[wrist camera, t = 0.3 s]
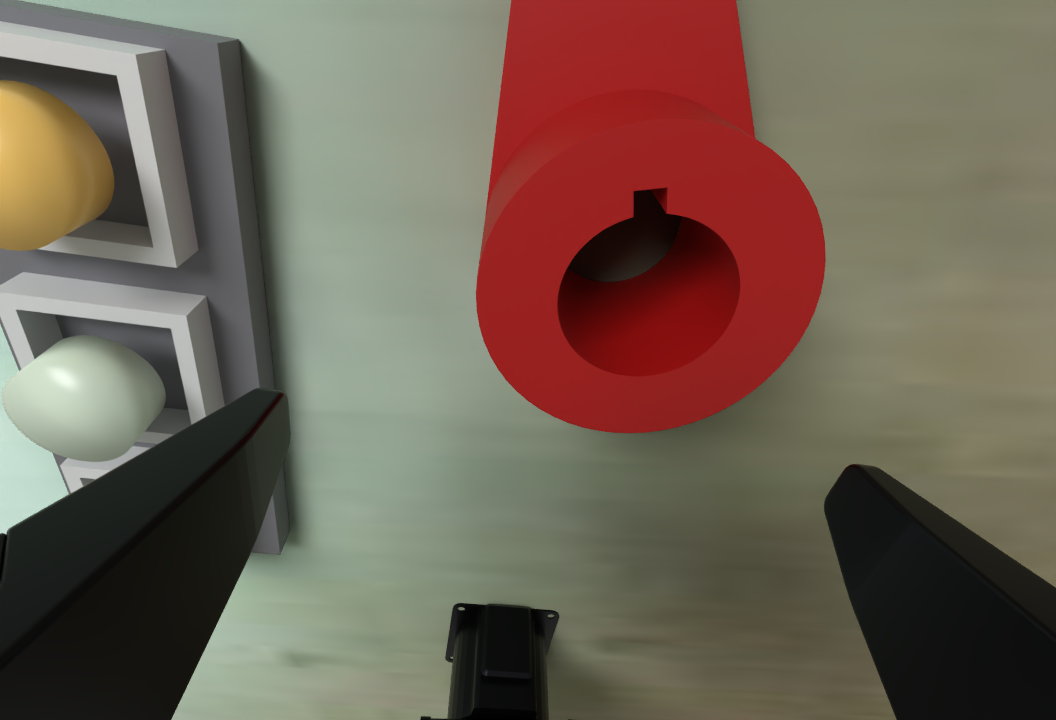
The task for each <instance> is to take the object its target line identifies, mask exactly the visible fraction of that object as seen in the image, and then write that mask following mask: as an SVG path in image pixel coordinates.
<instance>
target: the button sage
mask: <svg viewBox="0 0 1056 720" xmlns="http://www.w3.org/2000/svg"><path fill="white" fill-rule="evenodd" d="M2 401H3V406H4V409H5V411H6V413H7V415H8V417H9V418H10V420H11V421H12V423H13V424H14V425H15V426H16V427H17V429H18V430H19V431H21V432H22V433H23V434H24V435H25V436H26V437H27V438H29V439H30V440H31V441H33V442H34V443H36V444H37V445H39V446H41V447H43V448H44V449H46V450H48V451H50V452H53V453H55V454H58V455H60V456H63V457H66V458H70V459H74V460H79V461H86V462H103V461H109V460H113V459H116V458H118V457H120V456H122V455H124V454H125V453H126V452H127V451H128V450H129V449H130V448H131V447H132V446H133V445H134V443H135V442H136V441H137V440H138V439H139V438H140V436H141V435H142V434H143V433H144V432H145V430H146V429H147V428H148V427H149V426H150V424H151V423H152V422H153V421H154V420H155V418H156V417H157V416H158V415H159V414H160V412H161V411H162V410H163V407H164V405H165V401H166V393H165V388H164V385H163V382H162V380H161V378H160V377H159V375H158V373H157V372H156V371H155V369H154V368H153V367H152V366H151V365H150V364H149V363H148V362H147V361H146V360H145V359H144V358H142V357H141V356H140V355H139V354H137V353H136V352H134V351H133V350H131V349H129V348H128V347H126V346H124V345H122V344H119V343H117V342H114V341H112V340H109V339H105V338H101V337H96V336H86V335H81V336H72V337H68V338H64V339H62V340H60V341H58V342H57V343H55V344H54V345H53V346H51V347H50V348H49V349H48V350H46V351H45V352H44V353H42V354H41V355H40V356H38V357H37V358H36V359H35V360H33V361H32V362H31V363H29V364H28V365H27V366H25V367H24V368H23V369H22V370H20V371H19V372H18V373H16V374H15V375H14V376H12V377H11V378H10V379H9V380H8V381H7V382H6V384H5V386H4V388H3V392H2Z"/></svg>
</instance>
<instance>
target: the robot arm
mask: <svg viewBox="0 0 1056 720" xmlns="http://www.w3.org/2000/svg"><path fill="white" fill-rule="evenodd" d="M289 442H290V421H289V407H288V398H287V395H286V393H284V392H283V391H280V390H272V389H265V388H256V389H254V390H251V391H250V392H248V393H246V394H244V395H243V396H241V397H239V398H237V399H236V400H234V401H232V402H230V403H229V404H227V405H225V406H223V407H222V408H220V409H218V410H216V411H215V412H213V413H211V414H209V415H208V416H206V417H204V418H202V419H200V420H199V421H197V422H195V423H193V424H192V425H190V426H188V427H186V428H185V429H183V430H181V431H179V432H178V433H176V434H174V435H172V436H171V437H169V438H167V439H165V440H164V441H162V442H160V443H158V444H157V445H155V446H153V447H151V448H150V449H148V450H146V451H144V452H143V453H141V454H139V455H137V456H135V457H134V458H132V459H130V460H128V461H127V462H125V463H123V464H121V465H120V466H118V467H116V468H114V469H113V470H111V471H109V472H107V473H106V474H104V475H102V476H100V477H99V478H97V479H95V480H93V481H92V482H90V483H88V484H86V485H85V486H83V487H81V488H79V489H78V490H76V491H74V492H72V493H70V494H69V495H67V496H65V497H63V498H62V499H60V500H58V501H56V502H55V503H53V504H51V505H49V506H48V507H46V508H44V509H42V510H41V511H39V512H37V513H35V514H34V515H32V516H30V517H28V518H27V519H25V520H23V521H21V522H20V523H18V524H16V525H14V526H13V527H11V528H9V529H8V531H7V535H6V534H4V533H1V534H0V720H171V719H172V717H173V715H174V713H175V710H176V708H177V706H178V704H179V702H180V700H181V698H182V696H183V694H184V692H185V690H186V688H187V685H188V683H189V681H190V679H191V677H192V675H193V673H194V671H195V669H196V667H197V665H198V662H199V660H200V658H201V656H202V654H203V652H204V650H205V648H206V646H207V644H208V642H209V639H210V637H211V635H212V633H213V631H214V629H215V627H216V625H217V623H218V621H219V619H220V616H221V614H222V612H223V610H224V608H225V606H226V604H227V602H228V600H229V598H230V596H231V593H232V591H233V589H234V587H235V585H236V583H237V581H238V579H239V577H240V575H241V573H242V571H243V568H244V566H245V564H246V562H247V560H248V558H249V556H250V554H251V551H252V549H253V547H254V545H255V542H256V540H257V538H258V535H259V532H260V529H261V527H262V524H263V521H264V518H265V515H266V512H267V509H268V506H269V503H270V500H271V497H272V494H273V492H274V489H275V486H276V483H277V480H278V477H279V474H280V471H281V468H282V465H283V462H284V459H285V456H286V453H287V450H288V447H289ZM824 511H825V515H826V519H827V522H828V526H829V530H830V533H831V537H832V540H833V544H834V547H835V551H836V554H837V558H838V561H839V565H840V568H841V572H842V575H843V579H844V582H845V586H846V589H847V592H848V595H849V598H850V601H851V604H852V607H853V609H854V612H855V615H856V617H857V620H858V622H859V625H860V628H861V630H862V633H863V635H864V638H865V640H866V643H867V645H868V648H869V650H870V653H871V656H872V658H873V661H874V663H875V666H876V668H877V671H878V673H879V676H880V679H881V681H882V684H883V686H884V689H885V691H886V694H887V696H888V699H889V701H890V704H891V707H892V709H893V712H894V714H895V717H896V719H897V720H1056V588H1055V587H1054V586H1052V585H1051V584H1049V583H1048V582H1047V581H1045V580H1044V579H1042V578H1041V577H1039V576H1038V575H1036V574H1035V573H1033V572H1032V571H1030V570H1029V569H1027V568H1026V567H1024V566H1023V565H1021V564H1020V563H1018V562H1017V561H1016V560H1014V559H1013V558H1011V557H1010V556H1008V555H1007V554H1005V553H1004V552H1002V551H1001V550H999V549H998V548H996V547H995V546H993V545H992V544H990V543H989V542H987V541H986V540H984V539H983V538H982V537H980V536H979V535H977V534H976V533H974V532H973V531H971V530H970V529H968V528H967V527H965V526H964V525H962V524H961V523H959V522H958V521H956V520H955V519H953V518H952V517H950V516H949V515H948V514H946V513H945V512H943V511H942V510H940V509H939V508H937V507H936V506H934V505H933V504H931V503H930V502H928V501H927V500H925V499H924V498H922V497H921V496H919V495H918V494H916V493H915V492H914V491H912V490H911V489H909V488H908V487H906V486H905V485H903V484H902V483H900V482H899V481H897V480H896V479H894V478H893V477H891V476H890V475H888V474H887V473H885V472H884V471H882V470H881V469H879V468H877V467H874V466H868V465H860V464H851V465H849V466H848V467H846V468H845V469H844V471H843V472H842V474H841V475H840V477H839V478H838V480H837V481H836V483H835V484H834V486H833V487H832V489H831V490H830V492H829V493H828V495H827V496H826V499H825V502H824ZM459 607H464V608H465V610H462V611H460V610H458V609H457V608H459ZM549 614H553V615H555V616H554V617H552V618H549V617H547V615H549ZM558 618H559V614H558V612H556V611H552V610H540V609H529V608H527V607H519V606H506V605H494V604H488V605H478V604H466V603H458V604H455V605H454V606H453V611H452V617H451V624H450V631H449V637H448V644H447V651H446V657H445V658H446V660H447V661H448V662H452V663H453V665H452V676H451V686H450V697H449V707H448V718H447V719H432V718H431V717H428V716H421V720H549V713H548V690H547V667H546V655H547V652H548V649H549V646H550V642H551V639H552V636H553V633H554V630H555V627H556V624H557V621H558ZM450 657H453V659H450ZM568 720H570V719H568Z"/></svg>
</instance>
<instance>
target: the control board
mask: <svg viewBox="0 0 1056 720" xmlns="http://www.w3.org/2000/svg"><path fill="white" fill-rule="evenodd" d="M0 80H10V81H17V82H22V83H26V84H29V85H32V86H35V87H37V88H39V89H42V90H44V91H46V92H48V93H50V94H51V95H53V96H55V97H57V98H58V99H60V100H61V101H63V102H64V103H65V104H67V105H68V106H69V107H71V108H72V109H73V110H74V111H75V112H77V113H78V114H79V115H80V116H81V117H82V118H83V119H84V120H85V121H86V122H87V124H88V125H89V126H90V127H91V128H92V130H93V131H94V132H95V134H96V135H97V136H98V138H99V139H100V141H101V143H102V144H103V146H104V148H105V150H106V152H107V154H108V157H109V159H110V162H111V165H112V169H113V174H114V193H113V197H112V200H111V202H110V204H109V206H108V208H107V209H106V210H105V211H104V213H103V214H101V215H100V216H99V217H98V218H96V219H94V220H92V221H90V222H89V223H87V224H85V225H83V226H81V227H79V228H78V229H76V230H74V231H72V232H70V233H69V234H67V235H65V236H63V237H61V238H59V239H58V240H56V241H54V242H52V243H50V244H48V245H47V246H44V247H41V248H39V249H34V250H27V251H15V250H6V249H1V248H0V324H1V327H2V329H3V332H4V334H5V337H6V339H7V341H8V344H9V346H10V349H11V351H12V354H13V356H14V359H15V361H16V364H17V366H18V369H19V371H20V370H22V369H23V368H24V367H25V366H27V365H28V364H29V363H31V362H32V361H33V360H35V359H36V358H37V357H38V356H40V355H41V354H42V353H44V352H45V351H46V350H48V349H49V348H50V347H51V346H53V345H54V344H55V343H57V342H58V341H60V340H62V339H64V338H68V337H72V336H81V335H86V336H96V337H101V338H105V339H109V340H112V341H114V342H117V343H119V344H122V345H124V346H126V347H128V348H129V349H131V350H133V351H134V352H136V353H137V354H139V355H140V356H141V357H142V358H144V359H145V360H146V361H147V362H148V363H149V364H150V365H151V366H152V367H153V368H154V369H155V371H156V372H157V373H158V375H159V377H160V378H161V380H162V382H163V385H164V388H165V393H166V401H165V405H164V407H163V410H162V411H161V412H160V414H159V415H158V416H157V417H156V418H155V420H154V421H153V422H152V423H151V424H150V426H149V427H148V428H147V429H146V430H145V432H144V433H143V434H142V435H141V436H140V438H139V439H138V440H137V441H136V442H135V443H134V445H133V446H132V447H131V448H130V449H129V450H128V451H127V452H126V453H125V454H124V455H122V456H120V457H118V458H116V459H113V460H109V461H103V462H86V461H79V460H74V459H70V458H66V457H63V456H60V455H58V454H55V453H53V452H52V453H53V455H54V458H55V460H56V463H57V465H58V468H59V470H60V473H61V475H62V478H63V480H64V482H65V485H66V487H67V490H68V492H69V494H70V493H72V492H74V491H76V490H78V489H79V488H81V487H83V486H85V485H86V484H88V483H90V482H92V481H93V480H95V479H97V478H99V477H100V476H102V475H104V474H106V473H107V472H109V471H111V470H113V469H114V468H116V467H118V466H120V465H121V464H123V463H125V462H127V461H128V460H130V459H132V458H134V457H135V456H137V455H139V454H141V453H143V452H144V451H146V450H148V449H150V448H151V447H153V446H155V445H157V444H158V443H160V442H162V441H164V440H165V439H167V438H169V437H171V436H172V435H174V434H176V433H178V432H179V431H181V430H183V429H185V428H186V427H188V426H190V425H192V424H193V423H195V422H197V421H199V420H200V419H202V418H204V417H206V416H208V415H209V414H211V413H213V412H215V411H216V410H218V409H220V408H222V407H223V406H225V405H227V404H229V403H230V402H232V401H234V400H236V399H237V398H239V397H241V396H243V395H244V394H246V393H248V392H250V391H251V390H254V389H256V388H265V389H272V390H275V382H274V373H273V363H272V353H271V344H270V334H269V325H268V315H267V305H266V296H265V286H264V276H263V267H262V257H261V248H260V238H259V228H258V219H257V209H256V200H255V190H254V180H253V171H252V161H251V151H250V142H249V132H248V123H247V113H246V103H245V94H244V84H243V75H242V65H241V55H240V46H239V39H234V38H228V37H222V36H217V35H211V34H205V33H200V32H194V31H188V30H183V29H177V28H171V27H166V26H160V25H154V24H148V23H143V22H137V21H131V20H126V19H120V18H114V17H109V16H103V15H97V14H92V13H86V12H80V11H75V10H69V9H63V8H58V7H52V6H46V5H41V4H35V3H29V2H24V1H18V0H0ZM289 532H290V527H289V517H288V507H287V498H286V488H285V478H284V469H283V465H282V468H281V471H280V474H279V477H278V480H277V483H276V486H275V489H274V492H273V494H272V497H271V500H270V503H269V506H268V509H267V512H266V515H265V518H264V521H263V524H262V527H261V529H260V532H259V535H258V538H257V540H256V542H255V545H254V547H253V549H252V551H251V552H255V553H267V554H278V555H280V554H281V551H282V549H283V546H284V544H285V542H286V539H287V537H288V534H289Z"/></svg>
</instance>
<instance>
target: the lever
mask: <svg viewBox="0 0 1056 720" xmlns="http://www.w3.org/2000/svg"><path fill="white" fill-rule="evenodd" d="M648 189H651V191H652V192H653V194H654V195H655V197H656V198H657V200H658V201H659V203H660V204H661V206H662V207H663V209H664V210H665V212H666V213H667V214H673V215H679V216H681V223H680V228H679V231H678V234H677V237H676V239H675V241H674V243H673V245H672V246H671V248H670V249H669V251H668V252H667V253H666V255H665V256H664V257H663V258H662V259H661V260H660V261H659V262H658V263H657V264H656V265H655V266H653V267H652V268H651V269H649V270H648V271H646V272H644V273H642V274H640V275H639V276H636V277H634V278H631V279H627V280H623V281H618V282H598V281H593V280H590V279H586V278H584V277H581V276H579V275H577V274H576V273H574V272H572V271H571V270H570V269H568V268H567V267H568V265H569V264H570V262H571V261H572V259H573V258H574V256H575V255H576V254H577V253H578V251H579V250H580V249H581V248H582V247H583V246H584V245H585V244H586V243H587V242H588V241H589V240H590V239H592V238H593V237H594V236H595V235H597V234H598V233H600V232H601V231H603V230H604V229H606V228H608V227H610V226H611V225H613V224H616V223H618V222H620V221H623V220H626V219H629V218H632V217H633V197H634V191H639V190H648ZM824 271H825V240H824V234H823V228H822V223H821V220H820V217H819V214H818V210H817V208H816V205H815V203H814V201H813V199H812V197H811V195H810V193H809V191H808V189H807V188H806V186H805V185H804V183H803V182H802V180H801V179H800V177H799V176H798V175H797V173H796V172H795V171H794V170H793V169H792V168H791V167H790V165H789V164H788V163H787V162H786V161H785V160H783V159H782V158H781V157H780V156H779V155H778V154H776V153H775V152H774V151H773V150H772V149H770V148H769V147H767V146H765V145H764V144H762V143H761V142H759V141H758V140H756V139H755V133H754V126H753V119H752V112H751V105H750V98H749V90H748V83H747V76H746V69H745V62H744V54H743V47H742V40H741V33H740V26H739V18H738V11H737V4H736V0H511V8H510V16H509V25H508V33H507V41H506V50H505V58H504V67H503V75H502V83H501V92H500V100H499V108H498V117H497V125H496V133H495V142H494V150H493V158H492V167H491V175H490V183H489V192H488V200H487V209H486V217H485V225H484V232H483V239H482V247H481V254H480V261H479V269H478V276H477V289H476V302H477V314H478V320H479V326H480V329H481V333H482V336H483V340H484V342H485V345H486V347H487V349H488V352H489V354H490V356H491V358H492V360H493V361H494V363H495V365H496V366H497V368H498V370H499V371H500V372H501V374H502V375H503V376H504V378H505V379H506V380H507V381H508V382H509V384H510V385H511V386H512V387H513V388H514V389H515V390H516V391H517V392H518V393H519V394H521V395H522V396H523V397H524V398H525V399H526V400H528V401H529V402H530V403H532V404H533V405H535V406H536V407H538V408H539V409H541V410H542V411H544V412H546V413H548V414H550V415H552V416H554V417H556V418H558V419H560V420H563V421H565V422H568V423H571V424H574V425H577V426H580V427H584V428H588V429H593V430H598V431H605V432H613V433H643V432H652V431H660V430H666V429H670V428H675V427H679V426H683V425H686V424H689V423H693V422H695V421H698V420H701V419H703V418H706V417H709V416H711V415H713V414H715V413H717V412H719V411H721V410H723V409H725V408H727V407H729V406H730V405H732V404H734V403H736V402H737V401H739V400H740V399H742V398H743V397H745V396H746V395H748V394H749V393H751V392H752V391H753V390H754V389H756V388H757V387H758V386H759V385H761V384H762V383H763V382H764V381H765V380H767V379H768V378H769V377H770V376H771V375H772V374H773V373H774V372H775V371H776V370H777V369H778V368H779V367H780V365H781V364H782V363H783V362H784V361H785V360H786V358H787V357H788V356H789V355H790V353H791V352H792V351H793V349H794V348H795V346H796V345H797V344H798V342H799V341H800V339H801V337H802V336H803V334H804V332H805V330H806V329H807V327H808V325H809V323H810V320H811V318H812V316H813V314H814V312H815V309H816V306H817V303H818V300H819V297H820V294H821V289H822V284H823V279H824Z"/></svg>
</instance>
